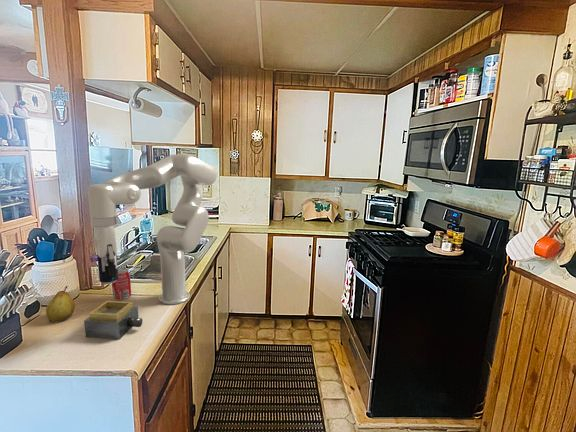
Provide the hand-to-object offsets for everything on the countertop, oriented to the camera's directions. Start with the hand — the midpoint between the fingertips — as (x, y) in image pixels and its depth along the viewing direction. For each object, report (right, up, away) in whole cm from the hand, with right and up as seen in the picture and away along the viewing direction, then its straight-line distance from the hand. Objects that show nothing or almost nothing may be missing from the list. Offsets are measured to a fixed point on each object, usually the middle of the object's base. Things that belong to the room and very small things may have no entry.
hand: (108, 273), depth 110 cm
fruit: (-23, -19, +10) cm, 32 cm away
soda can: (-10, -16, +28) cm, 34 cm away
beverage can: (0, -3, +1) cm, 3 cm away
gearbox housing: (+2, -20, +4) cm, 21 cm away
